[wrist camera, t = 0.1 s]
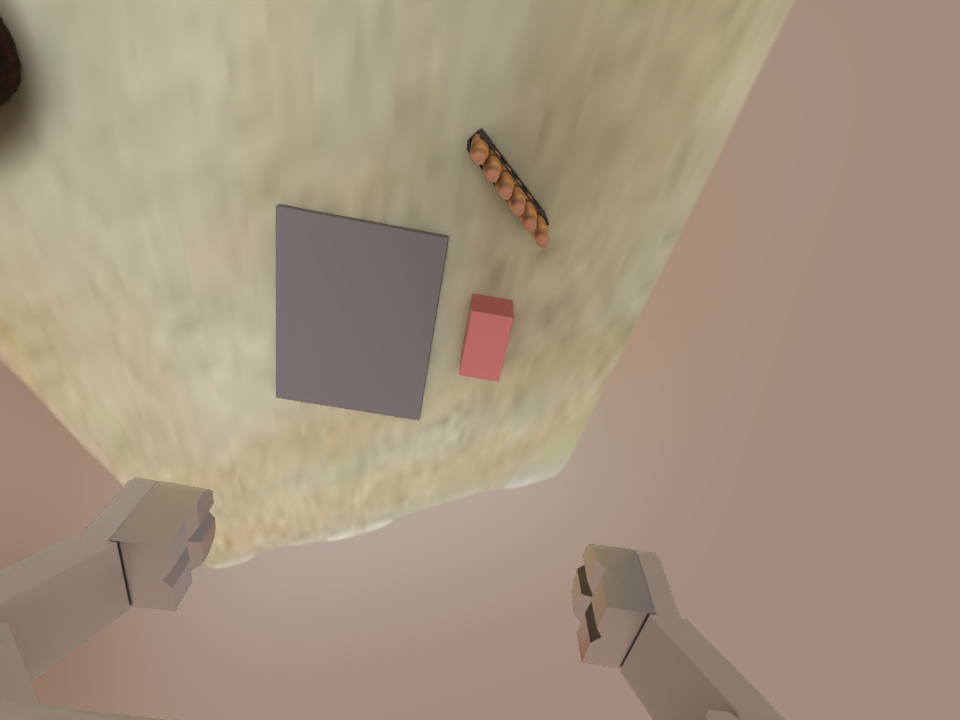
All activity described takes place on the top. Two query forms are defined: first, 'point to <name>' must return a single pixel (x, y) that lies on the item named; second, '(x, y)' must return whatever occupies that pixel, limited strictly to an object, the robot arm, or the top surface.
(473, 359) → the red rectangular block
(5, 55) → the jug
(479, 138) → the ammunition clip
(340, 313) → the mat
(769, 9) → the top surface
